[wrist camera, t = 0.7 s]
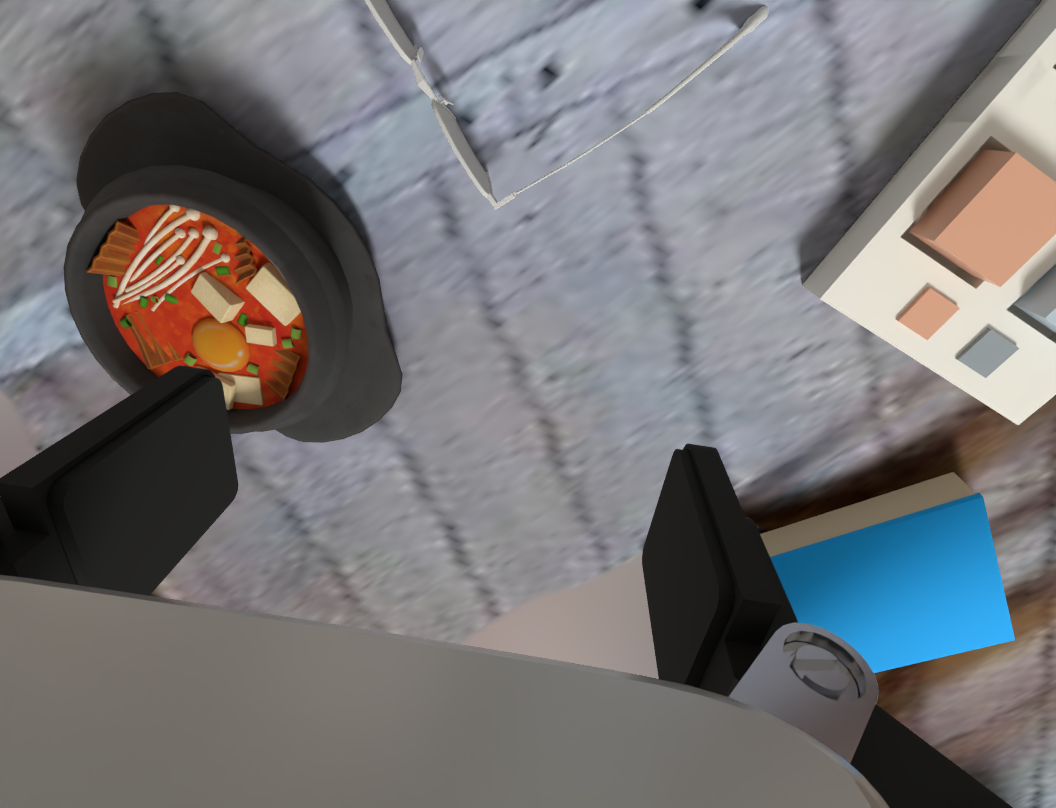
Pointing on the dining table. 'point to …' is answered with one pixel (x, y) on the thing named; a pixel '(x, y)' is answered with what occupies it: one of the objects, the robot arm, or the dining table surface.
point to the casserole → (226, 274)
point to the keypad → (933, 280)
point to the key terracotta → (992, 216)
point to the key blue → (1041, 300)
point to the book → (898, 574)
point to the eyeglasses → (442, 113)
